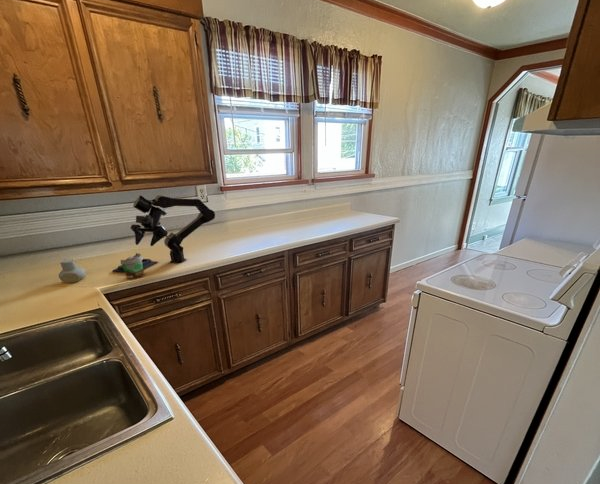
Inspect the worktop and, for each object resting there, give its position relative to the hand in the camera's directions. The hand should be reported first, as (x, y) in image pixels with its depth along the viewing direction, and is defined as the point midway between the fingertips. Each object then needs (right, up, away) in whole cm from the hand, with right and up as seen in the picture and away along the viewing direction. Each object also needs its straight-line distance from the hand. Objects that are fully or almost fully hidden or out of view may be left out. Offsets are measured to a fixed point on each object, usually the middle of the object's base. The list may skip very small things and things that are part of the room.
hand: (143, 245), depth 163 cm
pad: (-10, -9, +12) cm, 18 cm away
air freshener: (-31, -19, -5) cm, 37 cm away
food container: (-2, -16, 0) cm, 16 cm away
